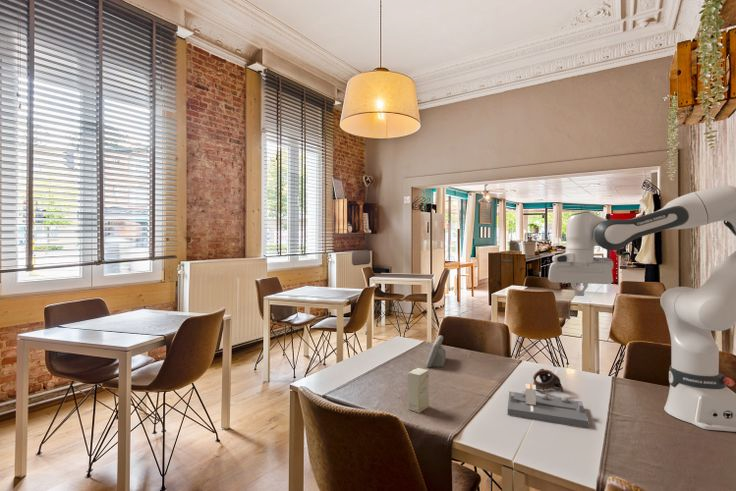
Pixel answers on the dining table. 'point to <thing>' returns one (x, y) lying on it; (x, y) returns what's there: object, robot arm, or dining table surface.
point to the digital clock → (436, 354)
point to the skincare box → (418, 389)
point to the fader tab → (531, 394)
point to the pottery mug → (547, 380)
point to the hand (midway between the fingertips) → (579, 295)
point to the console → (548, 409)
